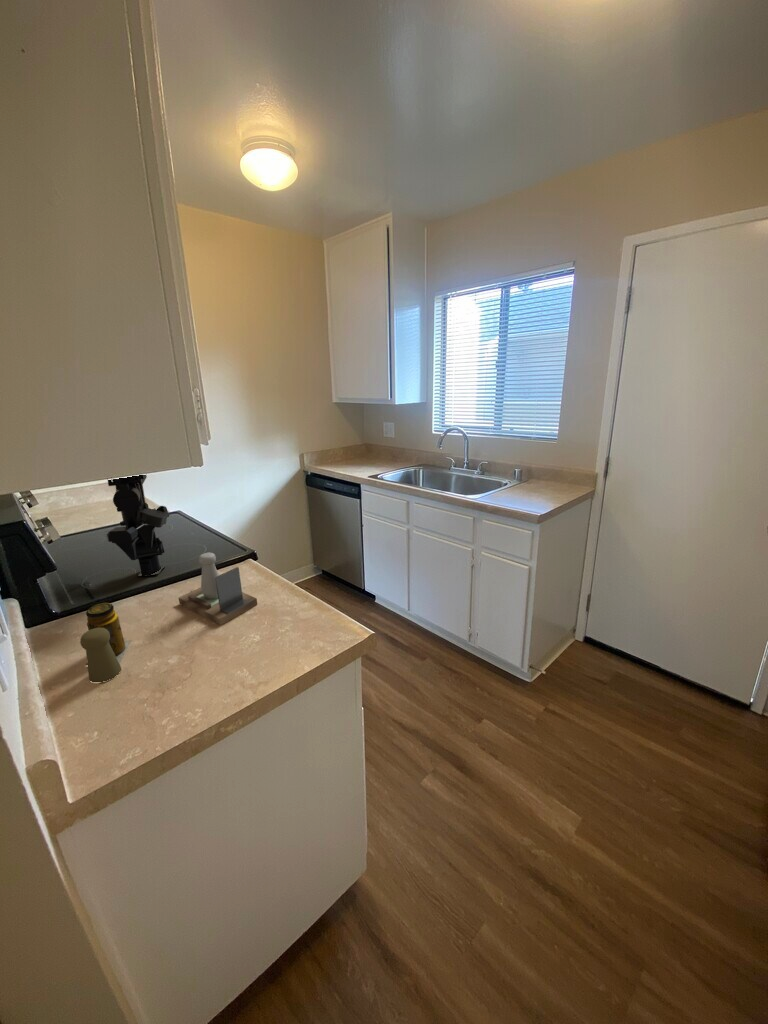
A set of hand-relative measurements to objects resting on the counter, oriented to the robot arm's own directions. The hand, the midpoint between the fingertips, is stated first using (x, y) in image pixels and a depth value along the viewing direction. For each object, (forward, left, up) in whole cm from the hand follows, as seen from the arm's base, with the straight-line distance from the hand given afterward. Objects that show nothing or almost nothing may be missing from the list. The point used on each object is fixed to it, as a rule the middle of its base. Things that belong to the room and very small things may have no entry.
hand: (142, 553), depth 119 cm
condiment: (+29, +3, -13) cm, 32 cm away
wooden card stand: (+8, +22, -13) cm, 27 cm away
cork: (+36, +6, -13) cm, 38 cm away
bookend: (+13, +29, -11) cm, 33 cm away
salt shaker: (+7, +21, -11) cm, 25 cm away
